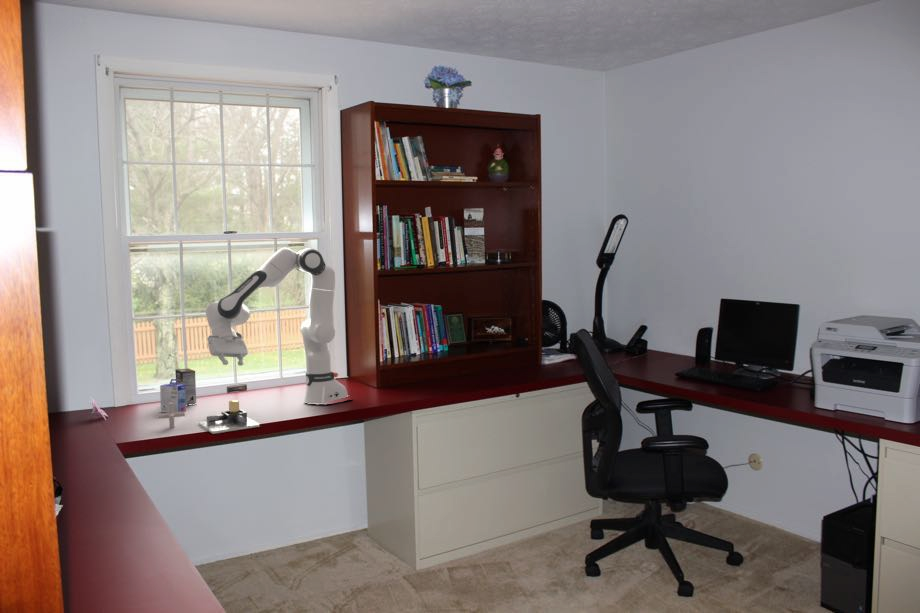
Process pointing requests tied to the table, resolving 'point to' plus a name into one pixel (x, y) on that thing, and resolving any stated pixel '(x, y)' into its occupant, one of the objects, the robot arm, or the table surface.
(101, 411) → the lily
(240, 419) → the base
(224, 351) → the robot arm
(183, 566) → the table surface
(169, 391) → the ink cartridge box
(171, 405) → the pipe connector
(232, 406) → the tan upright block
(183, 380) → the coffee box
